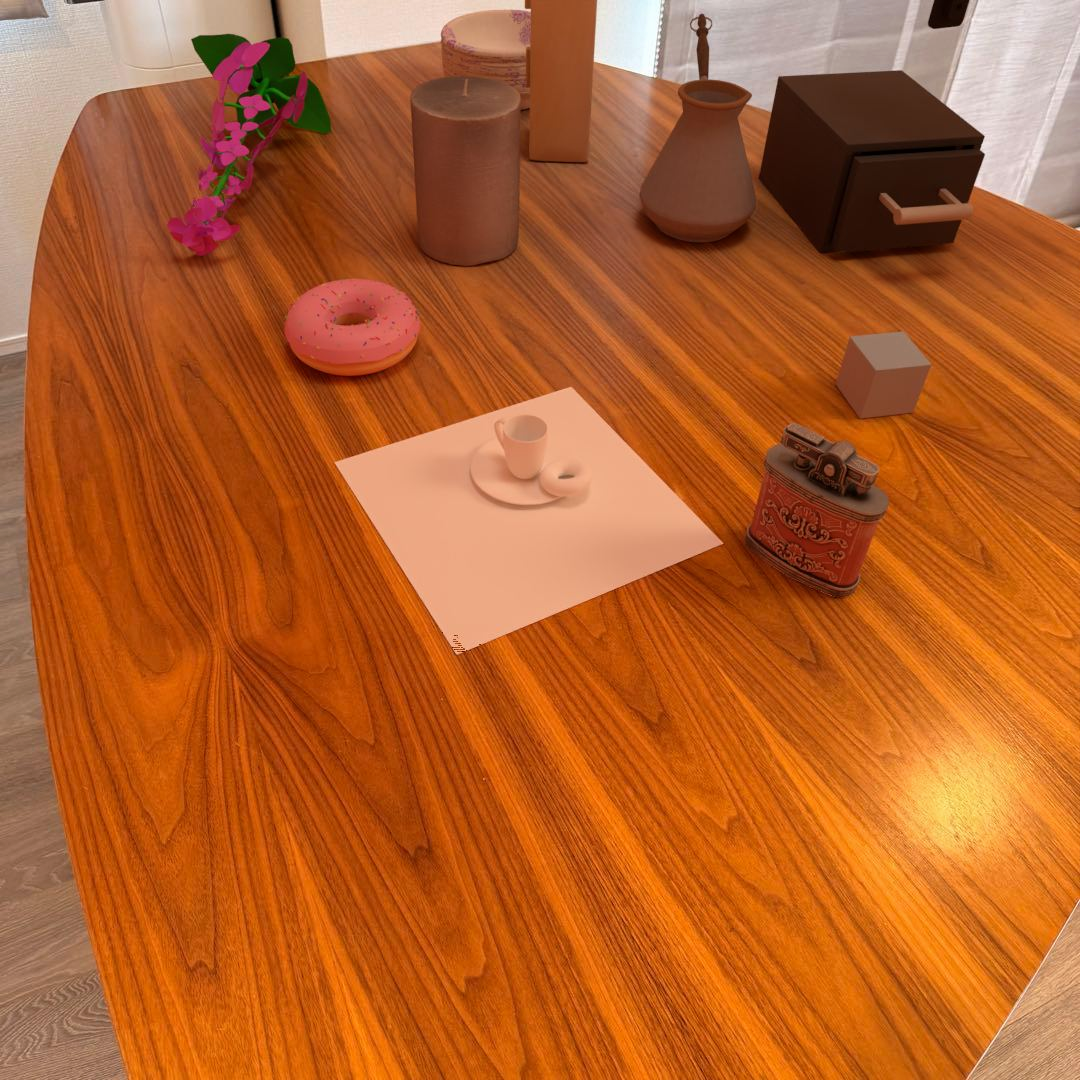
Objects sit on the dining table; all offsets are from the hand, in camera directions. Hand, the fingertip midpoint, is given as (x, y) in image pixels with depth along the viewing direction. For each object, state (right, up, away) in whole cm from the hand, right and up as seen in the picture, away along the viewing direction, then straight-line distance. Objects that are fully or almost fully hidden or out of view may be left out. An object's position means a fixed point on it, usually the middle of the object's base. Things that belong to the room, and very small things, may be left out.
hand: (908, 8), depth 85 cm
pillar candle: (-39, -18, +9) cm, 44 cm away
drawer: (+1, -15, +12) cm, 19 cm away
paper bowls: (-36, +8, +35) cm, 51 cm away
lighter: (-15, -48, -20) cm, 54 cm away
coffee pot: (-17, -11, +16) cm, 26 cm away
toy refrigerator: (-30, -2, +25) cm, 39 cm away
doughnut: (-47, -30, -4) cm, 56 cm away
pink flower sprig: (-62, -9, +17) cm, 65 cm away
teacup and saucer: (-33, -44, -17) cm, 57 cm away
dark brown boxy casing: (0, -12, +16) cm, 20 cm away
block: (-5, -35, -7) cm, 36 cm away
